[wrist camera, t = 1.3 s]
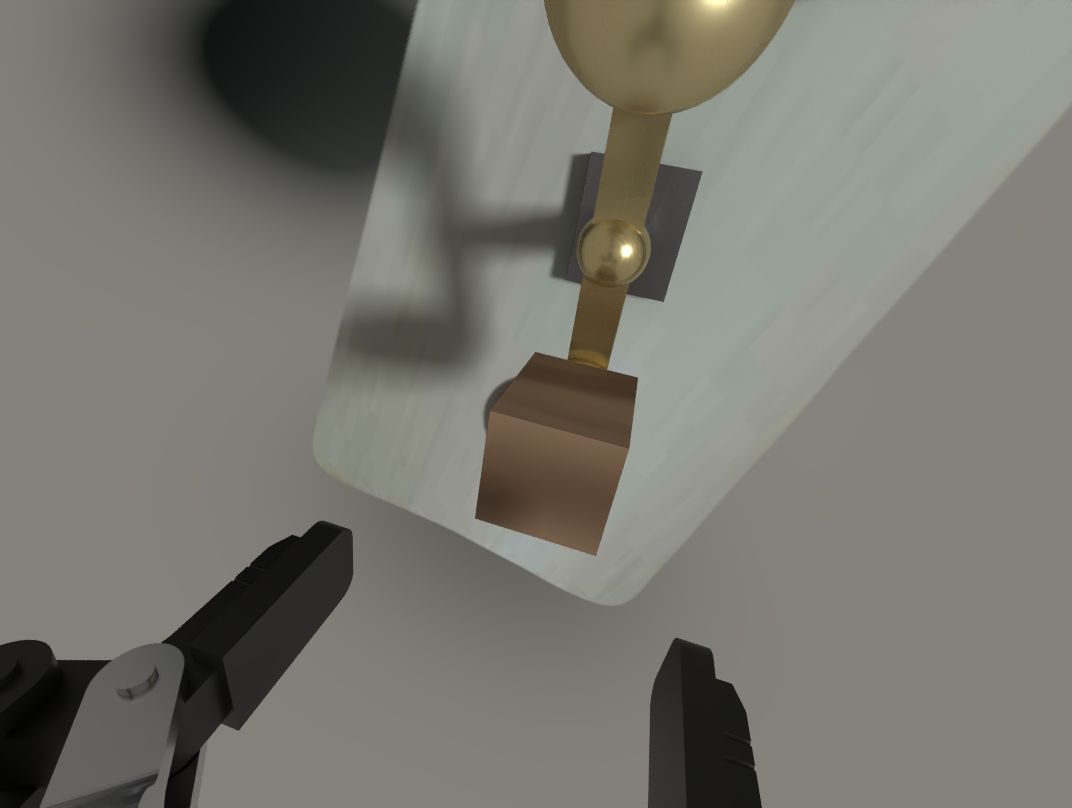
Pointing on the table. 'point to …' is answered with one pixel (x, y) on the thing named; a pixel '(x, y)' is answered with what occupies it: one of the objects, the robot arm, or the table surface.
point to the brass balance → (644, 137)
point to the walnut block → (557, 451)
